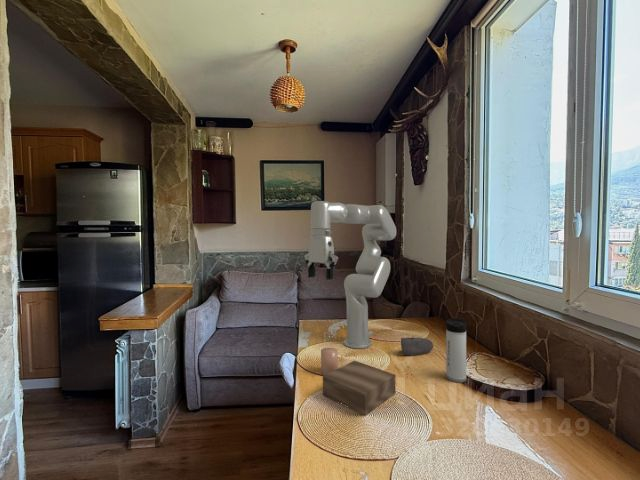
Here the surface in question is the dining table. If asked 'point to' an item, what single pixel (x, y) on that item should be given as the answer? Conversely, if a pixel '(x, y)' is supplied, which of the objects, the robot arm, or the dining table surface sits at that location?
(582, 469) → the dining table surface
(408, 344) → the dark grey rounded block
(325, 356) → the terracotta canister
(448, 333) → the travel mug
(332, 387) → the walnut riser block
